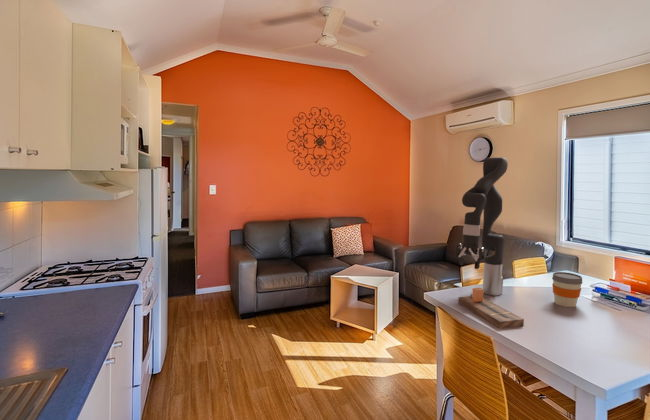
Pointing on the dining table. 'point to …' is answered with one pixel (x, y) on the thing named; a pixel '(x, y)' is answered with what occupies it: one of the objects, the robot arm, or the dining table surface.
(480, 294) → the fader tab
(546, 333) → the dining table surface
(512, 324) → the brown wooden board
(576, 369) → the dining table surface
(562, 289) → the reusable coffee cup
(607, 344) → the dining table surface
